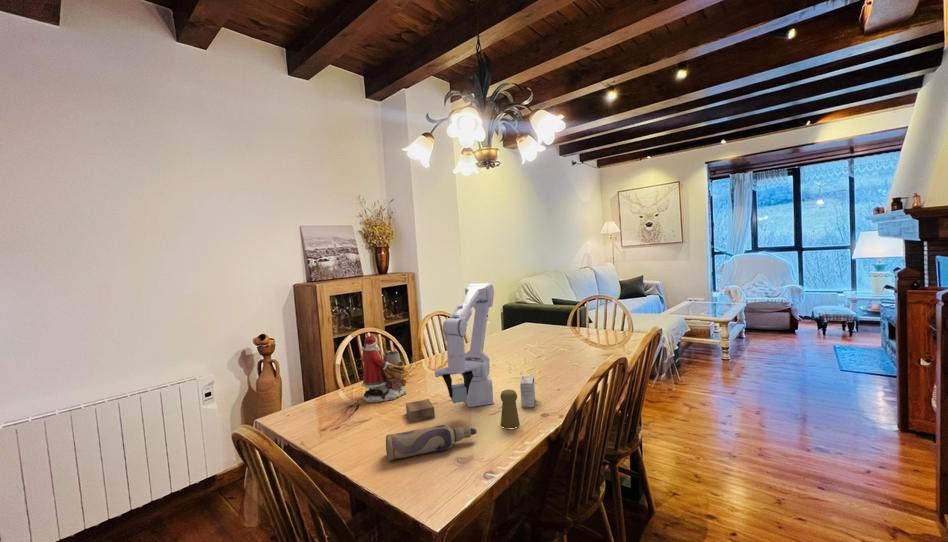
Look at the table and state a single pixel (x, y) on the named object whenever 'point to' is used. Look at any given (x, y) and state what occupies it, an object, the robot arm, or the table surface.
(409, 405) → the walnut block
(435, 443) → the decorative bottle
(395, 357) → the santa figurine
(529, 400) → the medicine box
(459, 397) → the slate cube
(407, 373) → the magic lamp
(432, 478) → the table surface
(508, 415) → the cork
